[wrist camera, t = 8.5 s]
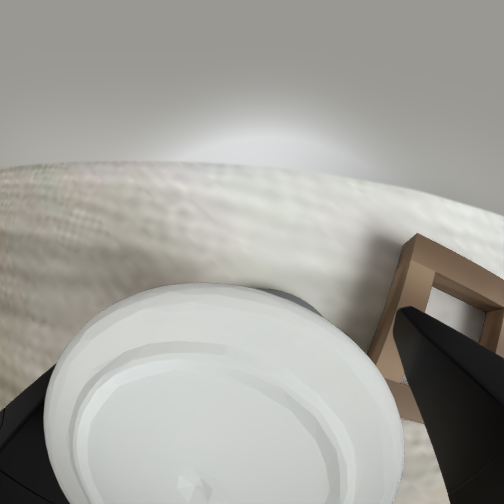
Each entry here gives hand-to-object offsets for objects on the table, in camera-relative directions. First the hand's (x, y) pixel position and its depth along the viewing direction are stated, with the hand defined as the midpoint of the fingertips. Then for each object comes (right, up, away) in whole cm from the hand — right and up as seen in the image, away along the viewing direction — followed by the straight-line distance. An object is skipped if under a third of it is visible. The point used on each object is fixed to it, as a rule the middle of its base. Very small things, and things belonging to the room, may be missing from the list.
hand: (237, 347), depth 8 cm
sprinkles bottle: (+1, -4, +8) cm, 9 cm away
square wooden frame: (+12, -3, +7) cm, 15 cm away
